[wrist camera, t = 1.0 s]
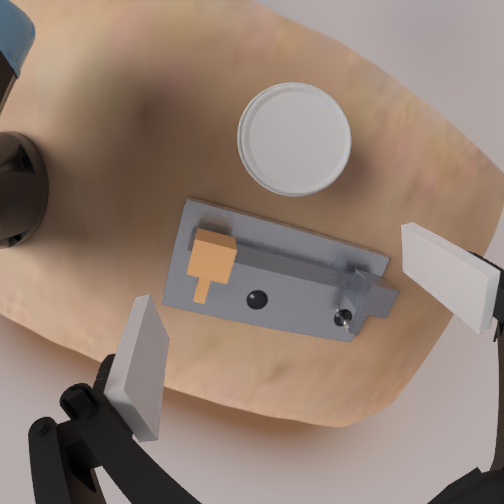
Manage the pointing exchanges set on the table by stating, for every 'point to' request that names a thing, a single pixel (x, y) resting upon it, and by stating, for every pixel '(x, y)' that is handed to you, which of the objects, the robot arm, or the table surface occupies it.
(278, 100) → the coffee cup
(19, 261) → the table surface
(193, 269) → the block
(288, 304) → the plate
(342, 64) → the table surface
